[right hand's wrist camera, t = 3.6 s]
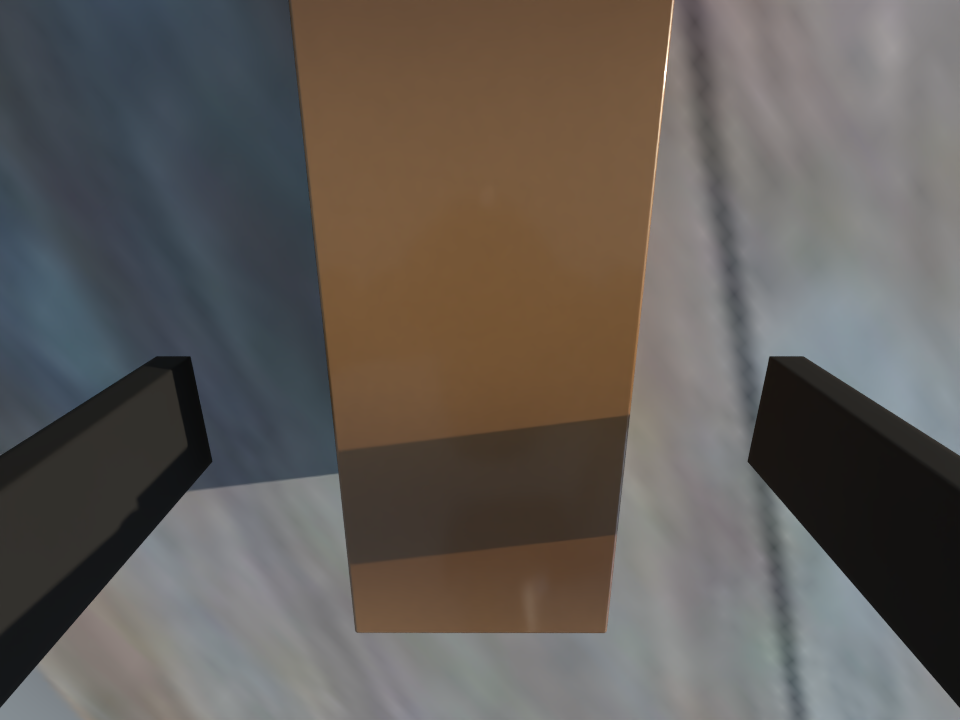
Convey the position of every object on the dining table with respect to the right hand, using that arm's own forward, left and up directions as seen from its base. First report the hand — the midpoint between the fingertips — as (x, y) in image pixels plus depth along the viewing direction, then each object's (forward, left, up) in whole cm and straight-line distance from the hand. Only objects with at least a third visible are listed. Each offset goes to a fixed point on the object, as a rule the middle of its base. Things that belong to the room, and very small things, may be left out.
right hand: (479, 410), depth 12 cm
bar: (+6, +6, -7) cm, 11 cm away
